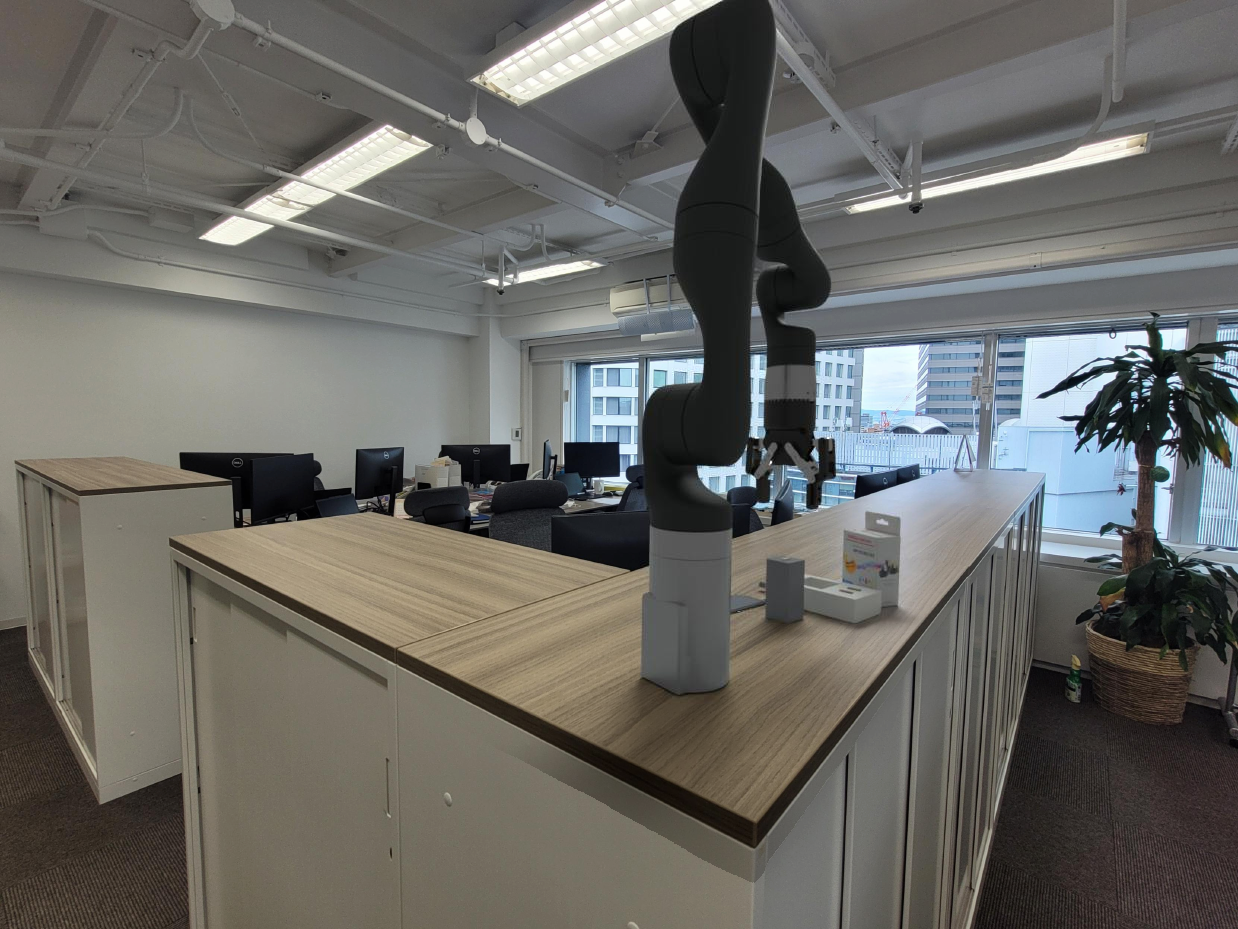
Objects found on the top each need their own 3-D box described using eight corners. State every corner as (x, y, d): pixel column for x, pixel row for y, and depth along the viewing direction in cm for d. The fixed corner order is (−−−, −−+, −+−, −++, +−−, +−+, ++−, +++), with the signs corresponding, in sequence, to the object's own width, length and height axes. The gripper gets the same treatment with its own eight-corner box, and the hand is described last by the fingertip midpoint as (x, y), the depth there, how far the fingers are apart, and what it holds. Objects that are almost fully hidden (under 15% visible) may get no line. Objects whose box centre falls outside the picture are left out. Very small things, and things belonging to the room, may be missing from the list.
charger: (787, 623, 82) (789, 562, 82) (765, 616, 86) (766, 557, 85) (803, 618, 85) (804, 559, 85) (780, 612, 88) (782, 554, 88)
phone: (718, 621, 85) (719, 615, 85) (690, 611, 90) (690, 605, 90) (767, 607, 92) (767, 601, 92) (739, 598, 97) (739, 593, 97)
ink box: (839, 594, 99) (842, 511, 98) (863, 592, 100) (865, 510, 100) (875, 608, 91) (878, 518, 90) (899, 606, 92) (903, 517, 91)
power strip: (854, 623, 83) (855, 594, 83) (746, 593, 98) (746, 568, 98) (880, 613, 88) (881, 585, 88) (773, 586, 103) (774, 562, 103)
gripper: (736, 399, 87) (734, 503, 88) (818, 394, 76) (815, 513, 77) (765, 401, 92) (763, 500, 92) (847, 397, 80) (844, 509, 81)
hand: (787, 505), depth 84 cm, fingers open, 8 cm apart
